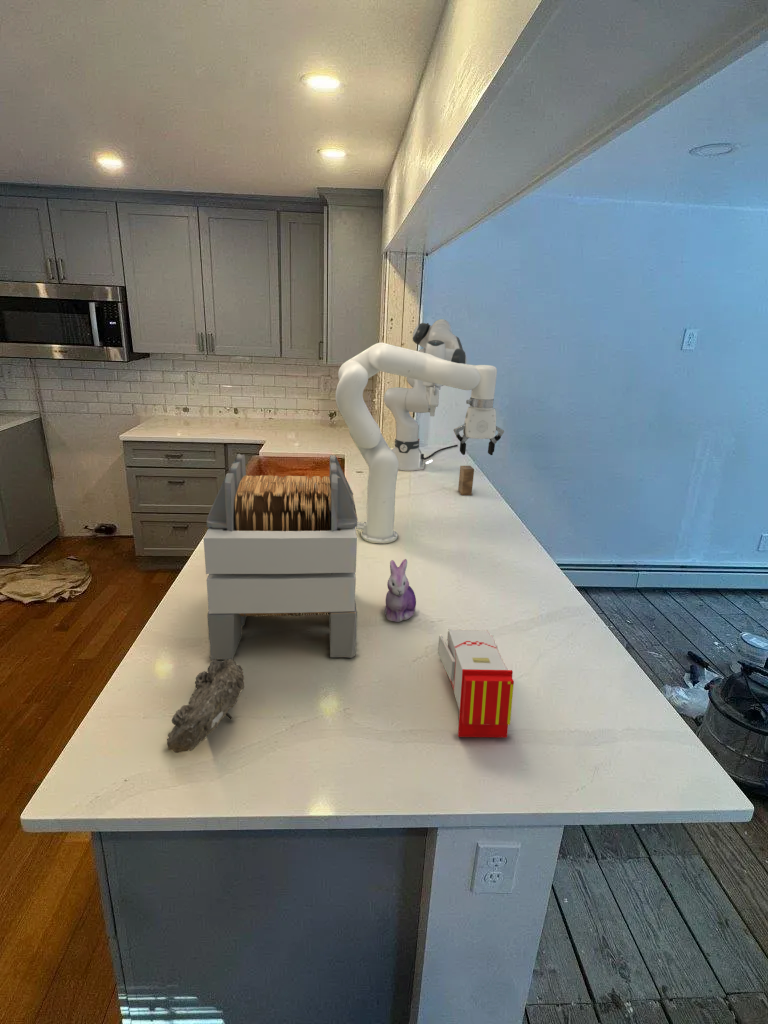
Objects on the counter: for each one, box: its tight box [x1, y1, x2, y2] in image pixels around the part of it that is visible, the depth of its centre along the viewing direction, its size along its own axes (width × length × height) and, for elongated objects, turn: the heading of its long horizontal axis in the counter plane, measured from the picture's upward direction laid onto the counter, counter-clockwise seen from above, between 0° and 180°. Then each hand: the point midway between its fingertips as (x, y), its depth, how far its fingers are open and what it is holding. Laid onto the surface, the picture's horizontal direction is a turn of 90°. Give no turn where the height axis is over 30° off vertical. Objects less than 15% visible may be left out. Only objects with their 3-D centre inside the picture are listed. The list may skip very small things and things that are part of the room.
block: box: [457, 465, 475, 496], centre depth 246 cm, size 4×6×12 cm
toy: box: [437, 628, 515, 738], centre depth 117 cm, size 12×13×30 cm
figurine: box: [384, 558, 417, 623], centre depth 145 cm, size 9×10×15 cm
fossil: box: [166, 659, 245, 754], centre depth 106 cm, size 22×10×15 cm
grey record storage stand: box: [203, 453, 359, 661], centre depth 135 cm, size 34×33×41 cm
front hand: (476, 454), depth 193 cm, fingers open, 9 cm apart
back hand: (431, 414), depth 241 cm, fingers open, 8 cm apart
